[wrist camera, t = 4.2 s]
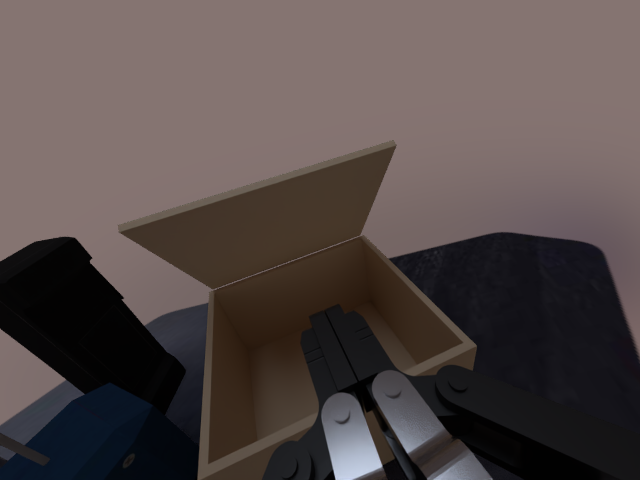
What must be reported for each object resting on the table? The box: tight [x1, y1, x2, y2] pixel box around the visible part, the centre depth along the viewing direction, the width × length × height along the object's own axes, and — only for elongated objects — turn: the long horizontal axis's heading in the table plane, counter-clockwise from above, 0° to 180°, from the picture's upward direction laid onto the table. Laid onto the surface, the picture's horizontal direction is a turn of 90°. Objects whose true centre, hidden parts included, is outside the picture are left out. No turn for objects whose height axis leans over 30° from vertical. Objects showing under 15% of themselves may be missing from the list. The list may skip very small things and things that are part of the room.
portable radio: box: [0, 237, 185, 415], centre depth 28 cm, size 8×6×25 cm
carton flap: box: [118, 140, 396, 289], centre depth 25 cm, size 16×19×1 cm
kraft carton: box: [198, 235, 477, 480], centre depth 28 cm, size 18×20×12 cm
